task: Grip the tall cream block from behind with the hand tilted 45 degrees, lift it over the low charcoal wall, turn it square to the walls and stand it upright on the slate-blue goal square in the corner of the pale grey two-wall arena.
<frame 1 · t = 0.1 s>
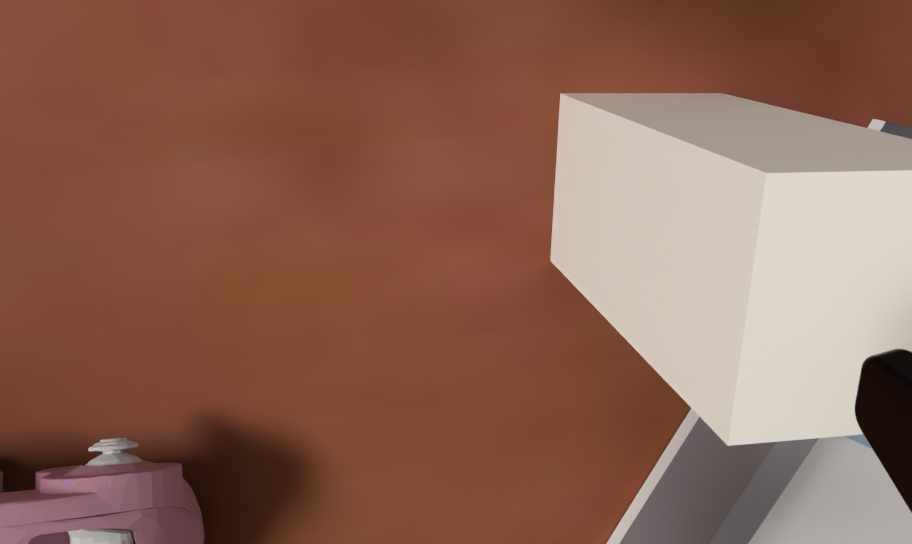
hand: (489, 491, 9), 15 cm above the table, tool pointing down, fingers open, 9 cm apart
block: (635, 178, 25), on the table
video game controller: (35, 483, 25), on the table
arena: (857, 412, 29), on the table
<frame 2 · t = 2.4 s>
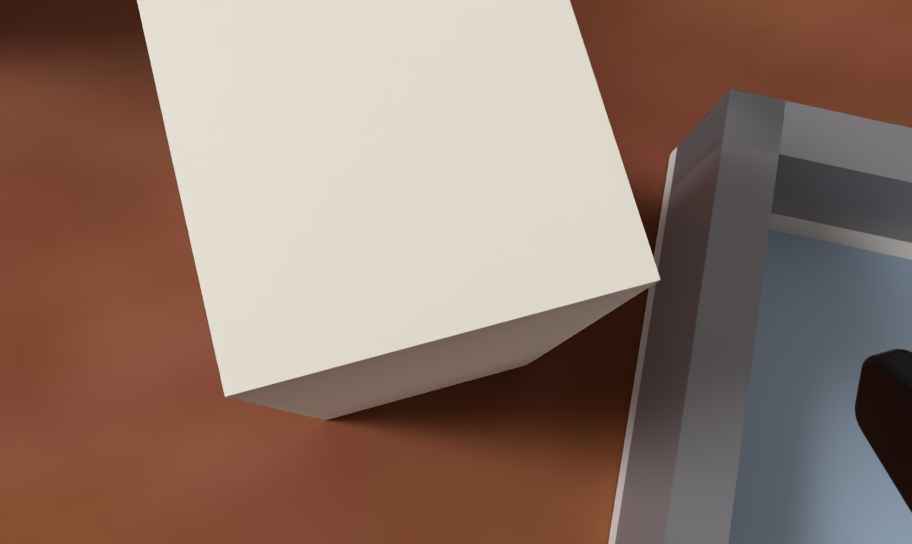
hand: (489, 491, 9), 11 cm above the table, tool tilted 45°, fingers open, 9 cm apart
block: (401, 293, 20), on the table
arena: (862, 538, 20), on the table
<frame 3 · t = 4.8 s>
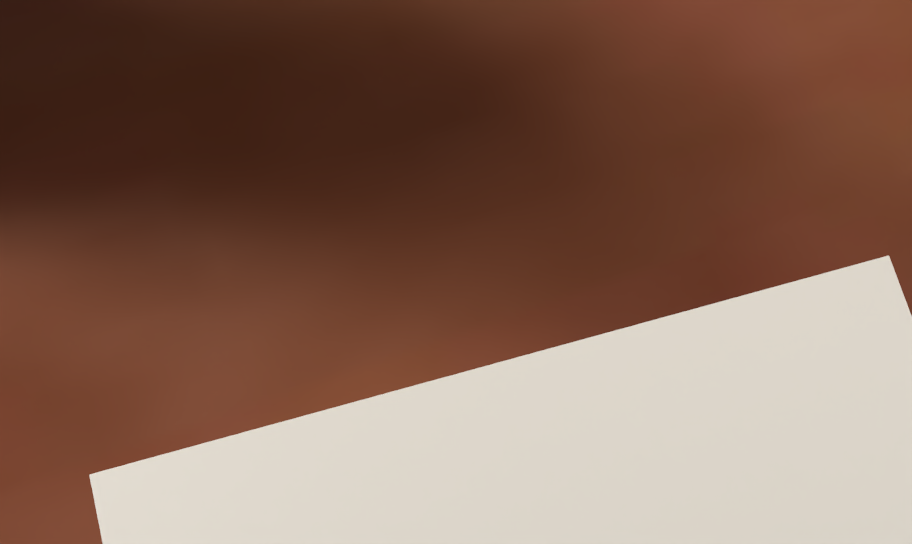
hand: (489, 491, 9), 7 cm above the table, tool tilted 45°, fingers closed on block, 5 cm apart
block: (474, 542, 15), on the table, touching gripper
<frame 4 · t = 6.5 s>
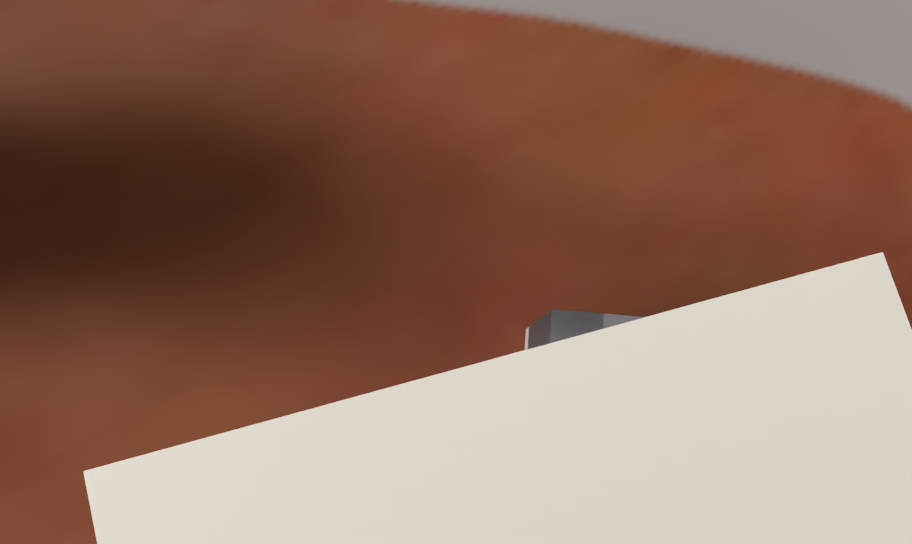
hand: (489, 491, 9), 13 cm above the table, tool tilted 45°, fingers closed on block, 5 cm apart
block: (472, 540, 15), point 7 cm above the table, touching gripper
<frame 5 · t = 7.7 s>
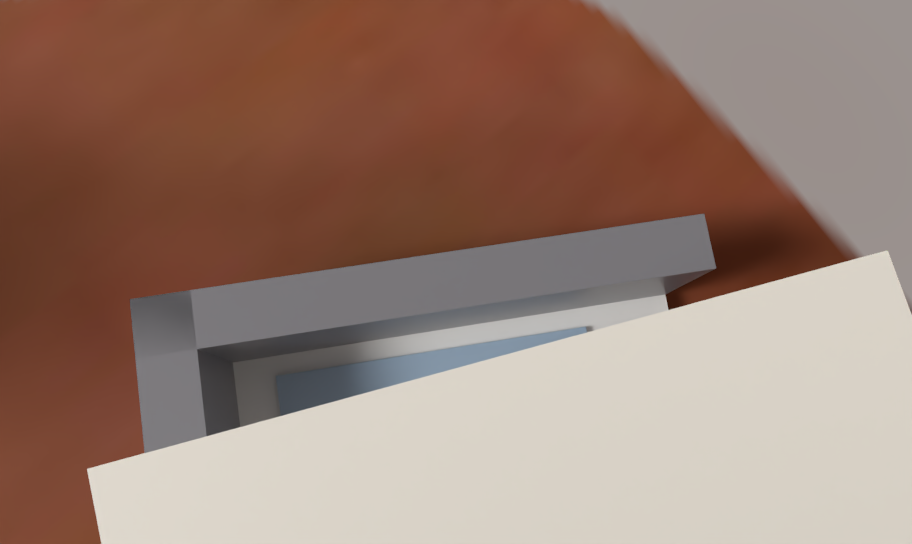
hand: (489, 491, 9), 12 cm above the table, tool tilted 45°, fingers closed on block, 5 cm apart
block: (474, 540, 15), point 5 cm above the table, touching gripper
when the fingers open (9 cm above the table, at t = 8.7 s): block drops 1 cm, resting on arena.
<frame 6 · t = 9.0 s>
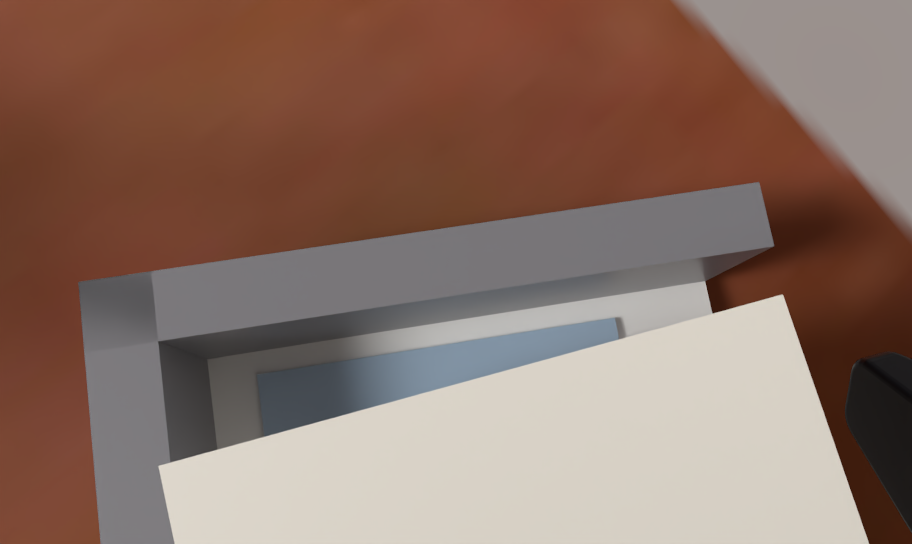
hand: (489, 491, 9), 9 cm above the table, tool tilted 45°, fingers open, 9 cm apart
block: (467, 532, 17), point 1 cm above the table, touching arena
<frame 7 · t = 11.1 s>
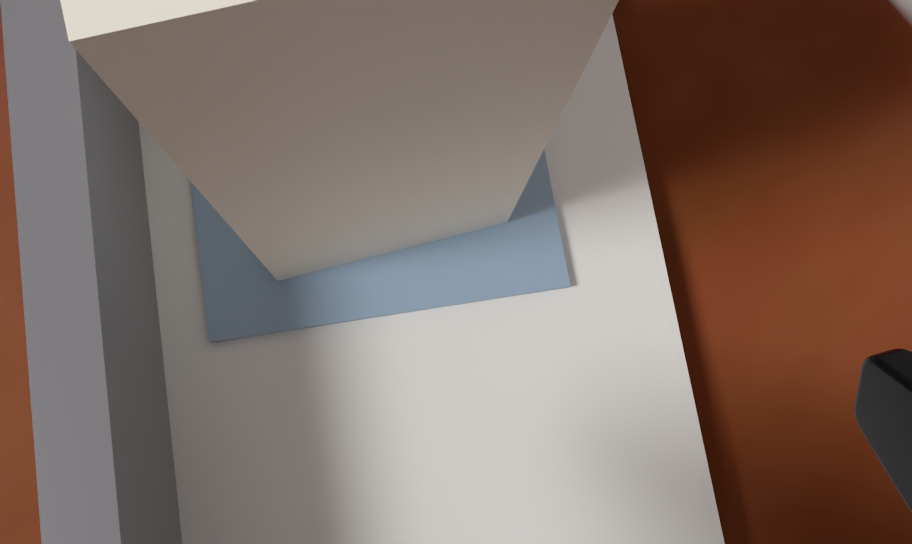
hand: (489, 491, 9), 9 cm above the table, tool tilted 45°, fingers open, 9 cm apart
block: (364, 142, 18), point 1 cm above the table, touching arena
arena: (388, 282, 18), on the table
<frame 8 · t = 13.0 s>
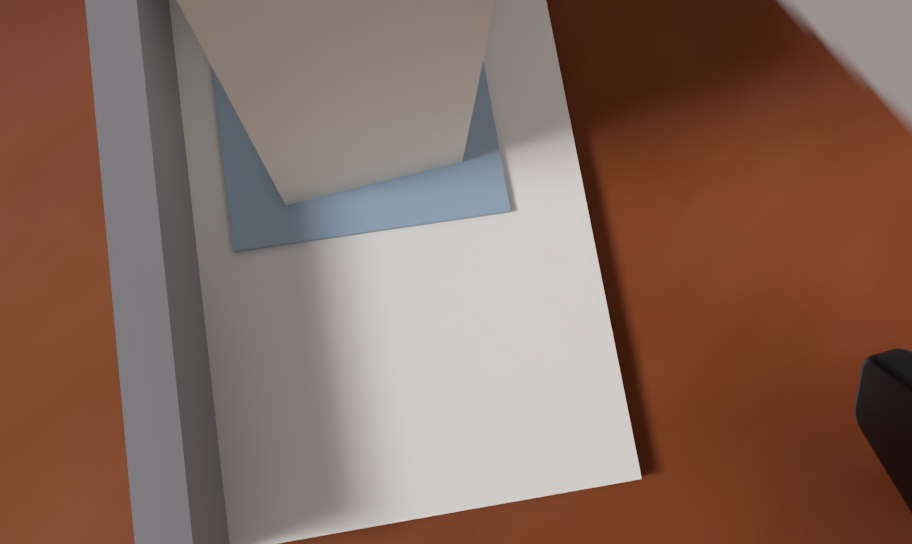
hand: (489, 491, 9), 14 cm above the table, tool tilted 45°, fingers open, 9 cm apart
block: (352, 100, 23), point 1 cm above the table, touching arena
arena: (371, 209, 24), on the table
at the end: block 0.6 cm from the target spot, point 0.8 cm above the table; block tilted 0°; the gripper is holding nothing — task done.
